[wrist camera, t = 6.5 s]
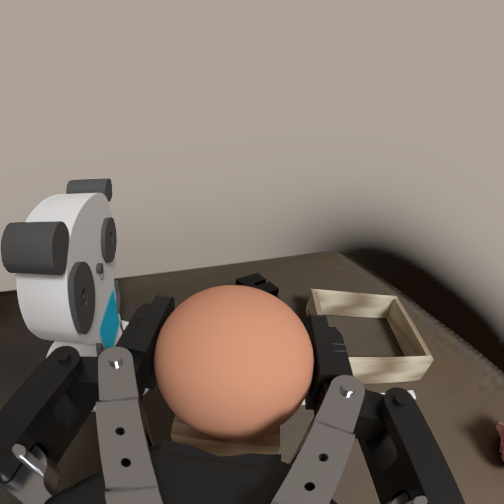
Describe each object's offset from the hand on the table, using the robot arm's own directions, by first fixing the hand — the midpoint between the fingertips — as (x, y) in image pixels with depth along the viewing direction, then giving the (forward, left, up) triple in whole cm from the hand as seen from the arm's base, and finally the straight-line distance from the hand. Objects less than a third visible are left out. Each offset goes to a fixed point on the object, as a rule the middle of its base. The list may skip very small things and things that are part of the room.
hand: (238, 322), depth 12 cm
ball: (0, -2, 0) cm, 2 cm away
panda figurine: (-12, +5, -11) cm, 17 cm away
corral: (+13, +12, -11) cm, 21 cm away
